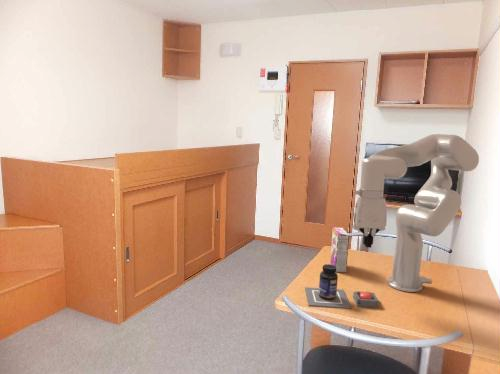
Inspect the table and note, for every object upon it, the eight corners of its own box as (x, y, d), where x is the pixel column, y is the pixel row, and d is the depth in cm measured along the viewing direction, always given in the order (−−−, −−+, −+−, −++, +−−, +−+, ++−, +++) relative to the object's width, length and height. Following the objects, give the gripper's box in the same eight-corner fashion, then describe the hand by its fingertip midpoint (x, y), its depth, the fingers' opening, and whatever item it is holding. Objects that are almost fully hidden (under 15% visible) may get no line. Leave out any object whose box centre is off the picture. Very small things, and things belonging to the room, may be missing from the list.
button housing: (372, 298, 134) (373, 292, 134) (378, 307, 127) (379, 301, 127) (352, 297, 135) (353, 291, 134) (357, 306, 128) (357, 299, 127)
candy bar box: (329, 262, 168) (332, 226, 166) (340, 263, 168) (343, 227, 166) (334, 272, 157) (337, 234, 155) (346, 273, 157) (350, 234, 155)
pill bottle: (331, 302, 129) (333, 271, 127) (315, 296, 133) (317, 266, 131) (338, 296, 134) (341, 266, 132) (323, 291, 137) (325, 262, 136)
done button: (369, 297, 133) (370, 292, 132) (372, 302, 129) (373, 297, 128) (358, 296, 133) (358, 291, 133) (360, 302, 129) (361, 296, 129)
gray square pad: (343, 290, 140) (343, 289, 140) (350, 308, 126) (351, 307, 126) (304, 288, 140) (305, 287, 140) (308, 305, 127) (308, 304, 126)
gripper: (351, 196, 125) (348, 249, 128) (397, 197, 125) (393, 250, 128) (346, 191, 132) (343, 242, 135) (389, 192, 132) (385, 243, 135)
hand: (367, 246), depth 132 cm, fingers closed
